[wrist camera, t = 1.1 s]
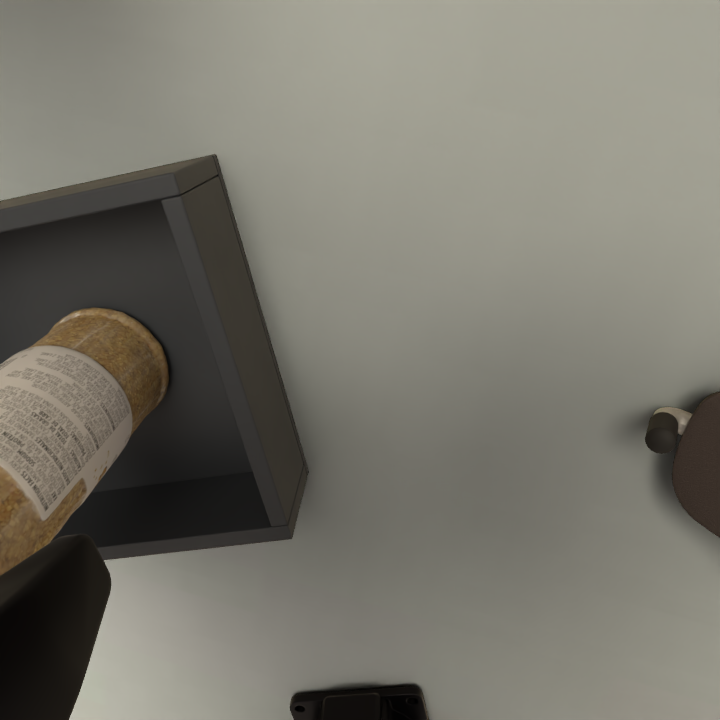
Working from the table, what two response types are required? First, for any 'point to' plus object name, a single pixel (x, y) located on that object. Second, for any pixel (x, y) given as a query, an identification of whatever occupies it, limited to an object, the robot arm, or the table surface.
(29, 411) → the sprinkles bottle
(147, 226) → the bin
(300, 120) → the table surface
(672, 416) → the laptop tray
